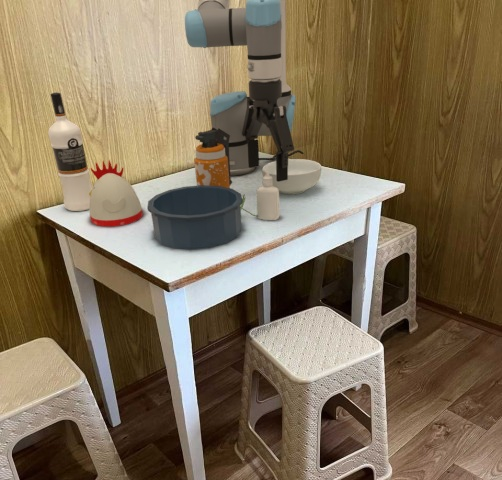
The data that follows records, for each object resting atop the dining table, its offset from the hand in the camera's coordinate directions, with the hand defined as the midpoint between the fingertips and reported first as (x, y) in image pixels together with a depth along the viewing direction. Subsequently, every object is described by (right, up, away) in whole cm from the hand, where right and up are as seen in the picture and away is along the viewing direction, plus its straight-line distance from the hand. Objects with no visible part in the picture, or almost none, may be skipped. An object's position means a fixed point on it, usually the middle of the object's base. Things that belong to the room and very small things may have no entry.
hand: (267, 173), depth 129 cm
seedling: (-2, -10, +6) cm, 12 cm away
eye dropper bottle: (0, -10, +6) cm, 12 cm away
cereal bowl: (+8, +2, +24) cm, 25 cm away
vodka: (-53, -3, +20) cm, 57 cm away
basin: (-17, -14, +1) cm, 22 cm away
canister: (-14, -3, +17) cm, 22 cm away
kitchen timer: (-40, -8, +12) cm, 43 cm away
